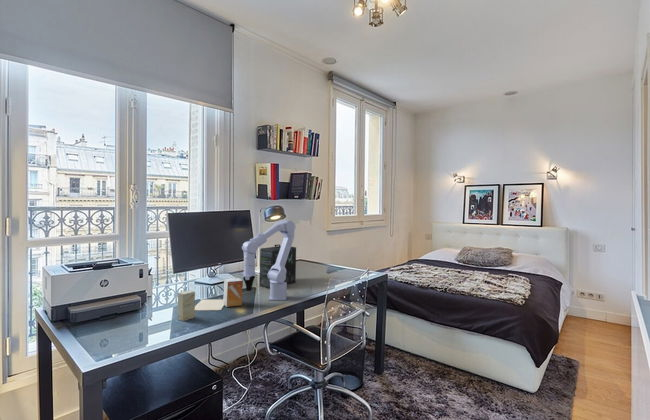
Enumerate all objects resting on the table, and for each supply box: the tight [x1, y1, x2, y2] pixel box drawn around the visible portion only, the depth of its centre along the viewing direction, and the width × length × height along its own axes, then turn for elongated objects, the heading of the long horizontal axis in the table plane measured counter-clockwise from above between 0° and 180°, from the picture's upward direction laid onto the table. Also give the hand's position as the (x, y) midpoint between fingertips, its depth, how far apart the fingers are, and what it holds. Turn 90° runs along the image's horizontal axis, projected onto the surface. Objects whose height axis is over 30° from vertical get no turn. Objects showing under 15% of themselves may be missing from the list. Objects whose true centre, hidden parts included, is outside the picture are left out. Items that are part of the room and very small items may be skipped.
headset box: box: [259, 244, 297, 289], centre depth 213 cm, size 22×12×26 cm, turn 144°
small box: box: [222, 277, 244, 308], centre depth 171 cm, size 8×6×13 cm
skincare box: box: [177, 290, 196, 322], centre depth 151 cm, size 6×4×12 cm
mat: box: [195, 298, 225, 312], centre depth 170 cm, size 14×17×1 cm
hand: (249, 290), depth 172 cm, fingers closed
